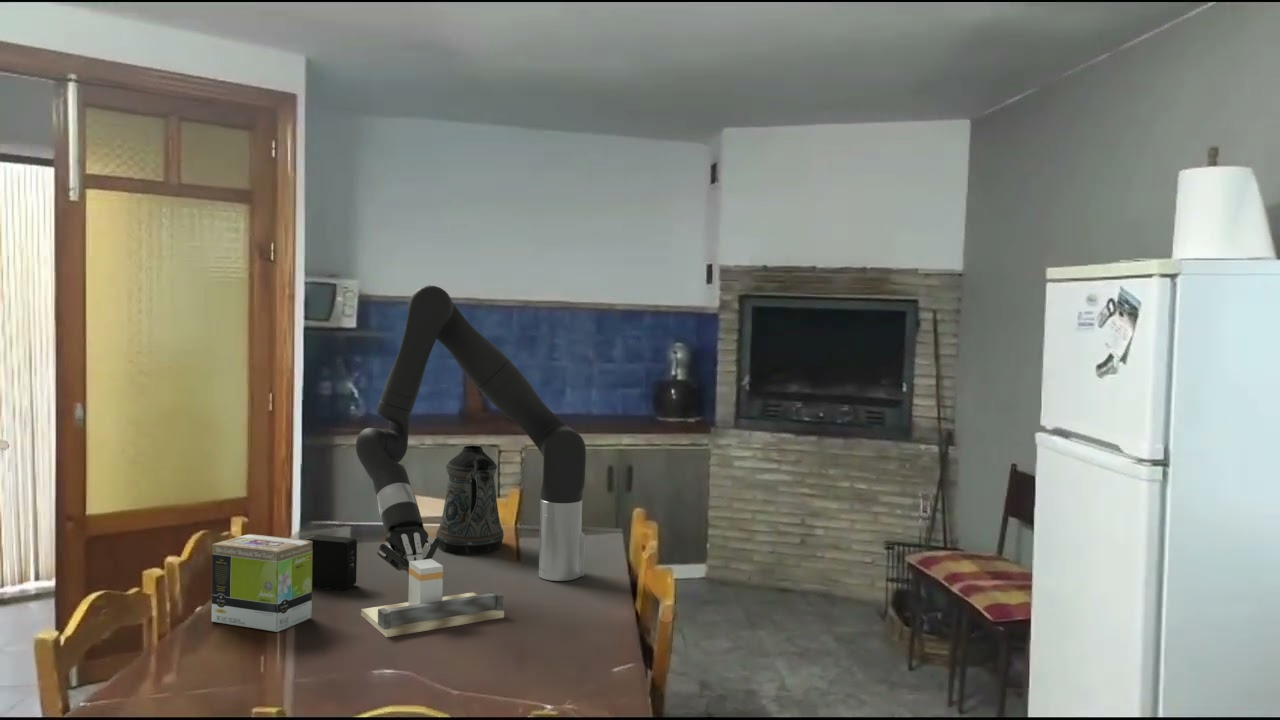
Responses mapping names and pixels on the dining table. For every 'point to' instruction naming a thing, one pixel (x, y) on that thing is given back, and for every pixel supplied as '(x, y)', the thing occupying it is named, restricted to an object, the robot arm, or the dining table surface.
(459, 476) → the beer stein
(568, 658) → the dining table surface
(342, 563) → the electronic device
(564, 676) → the dining table surface
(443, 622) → the mount board
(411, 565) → the module
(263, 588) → the tea box
